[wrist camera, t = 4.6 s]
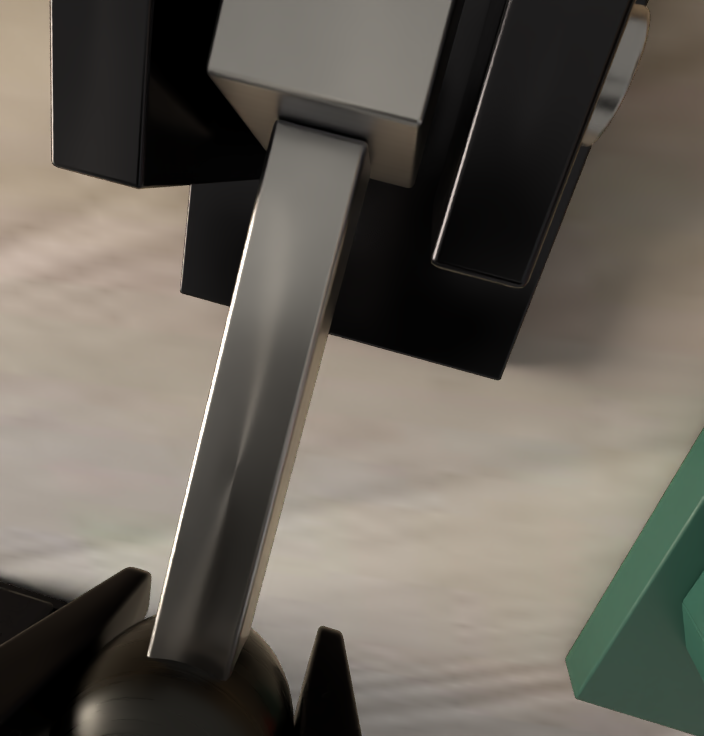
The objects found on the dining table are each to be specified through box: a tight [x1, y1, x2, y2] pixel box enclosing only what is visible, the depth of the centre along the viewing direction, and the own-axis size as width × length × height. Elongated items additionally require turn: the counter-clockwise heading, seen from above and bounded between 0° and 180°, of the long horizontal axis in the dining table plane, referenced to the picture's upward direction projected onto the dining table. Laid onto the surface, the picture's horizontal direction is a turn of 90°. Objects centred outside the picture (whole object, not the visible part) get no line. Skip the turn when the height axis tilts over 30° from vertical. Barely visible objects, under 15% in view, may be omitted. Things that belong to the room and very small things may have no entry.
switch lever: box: [49, 0, 465, 736], centre depth 6 cm, size 12×3×3 cm, turn 167°
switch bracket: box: [50, 0, 650, 380], centre depth 8 cm, size 12×9×9 cm
